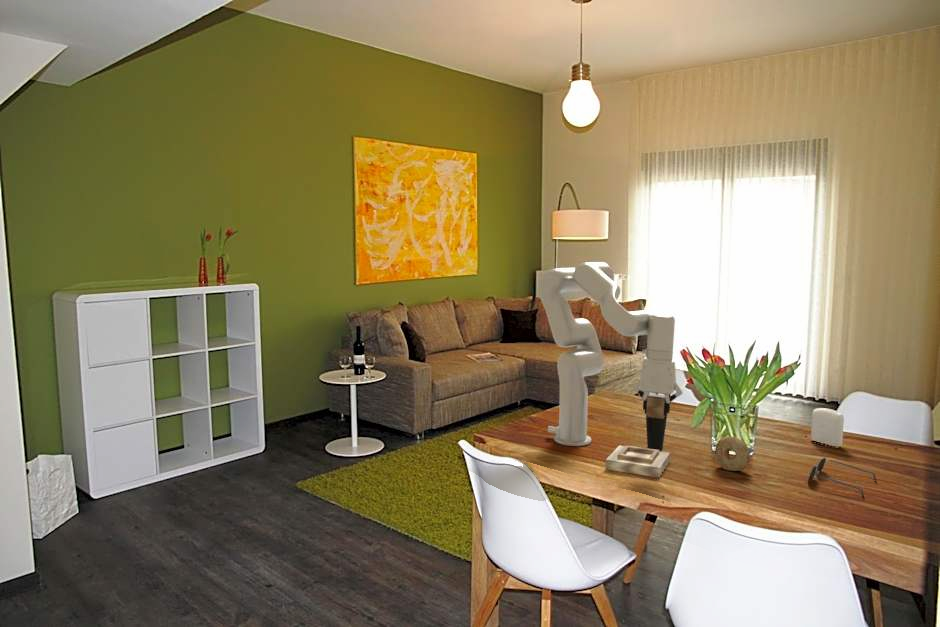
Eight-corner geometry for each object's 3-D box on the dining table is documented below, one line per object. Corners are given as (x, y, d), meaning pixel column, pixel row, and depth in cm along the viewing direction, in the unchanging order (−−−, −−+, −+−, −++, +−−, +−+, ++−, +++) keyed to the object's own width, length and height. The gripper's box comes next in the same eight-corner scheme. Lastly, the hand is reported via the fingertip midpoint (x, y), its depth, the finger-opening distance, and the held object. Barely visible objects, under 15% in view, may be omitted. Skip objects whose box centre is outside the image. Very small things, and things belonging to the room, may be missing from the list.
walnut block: (646, 416, 209) (647, 397, 208) (649, 412, 213) (650, 393, 212) (662, 418, 207) (664, 399, 206) (665, 414, 211) (666, 395, 210)
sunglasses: (821, 471, 209) (824, 455, 208) (875, 488, 200) (879, 472, 199) (805, 486, 196) (808, 470, 195) (862, 506, 187) (866, 489, 186)
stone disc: (711, 467, 211) (713, 435, 210) (716, 464, 214) (718, 433, 212) (746, 475, 204) (747, 442, 203) (750, 472, 207) (752, 440, 206)
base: (605, 469, 209) (606, 455, 208) (619, 454, 223) (619, 441, 222) (659, 477, 202) (659, 463, 201) (669, 461, 216) (670, 448, 215)
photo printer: (808, 441, 239) (810, 406, 237) (816, 439, 241) (818, 405, 239) (836, 449, 230) (838, 413, 228) (844, 447, 232) (846, 411, 231)
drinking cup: (667, 452, 225) (670, 392, 223) (643, 451, 227) (645, 391, 224) (666, 445, 233) (668, 387, 230) (642, 444, 234) (644, 386, 232)
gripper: (628, 354, 208) (625, 412, 210) (687, 360, 201) (683, 420, 203) (633, 350, 214) (630, 407, 217) (690, 355, 207) (686, 414, 210)
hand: (656, 413), depth 210 cm, fingers closed on walnut block, 5 cm apart
